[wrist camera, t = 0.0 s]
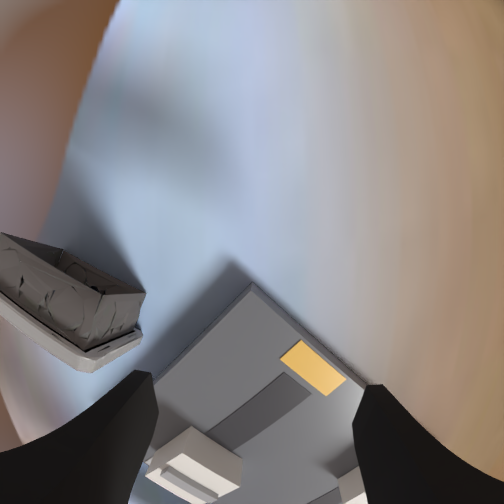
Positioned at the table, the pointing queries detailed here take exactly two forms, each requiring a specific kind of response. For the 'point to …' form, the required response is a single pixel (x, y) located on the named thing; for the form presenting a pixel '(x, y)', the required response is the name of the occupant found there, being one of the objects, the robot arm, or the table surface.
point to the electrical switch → (67, 304)
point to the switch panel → (264, 403)
